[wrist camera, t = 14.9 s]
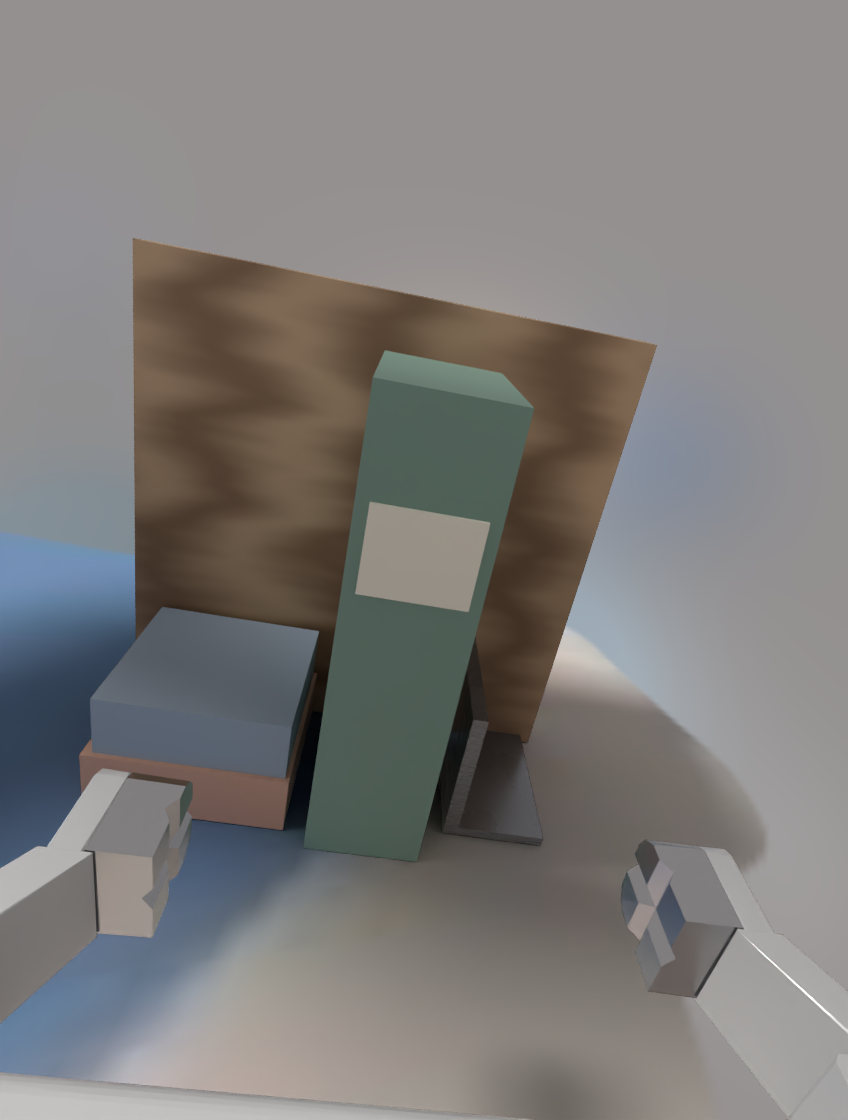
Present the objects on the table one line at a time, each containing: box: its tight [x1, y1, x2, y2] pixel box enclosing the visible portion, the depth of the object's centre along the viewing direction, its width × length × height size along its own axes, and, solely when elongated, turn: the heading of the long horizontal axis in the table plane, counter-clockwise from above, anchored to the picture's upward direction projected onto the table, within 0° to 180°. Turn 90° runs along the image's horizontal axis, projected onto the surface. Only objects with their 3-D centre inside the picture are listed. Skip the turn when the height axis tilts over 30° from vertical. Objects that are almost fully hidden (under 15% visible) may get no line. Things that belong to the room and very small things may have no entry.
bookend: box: [440, 637, 543, 846], centre depth 28 cm, size 4×6×6 cm, turn 1°
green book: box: [303, 350, 534, 862], centre depth 23 cm, size 4×7×18 cm, turn 1°
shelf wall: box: [133, 238, 657, 742], centre depth 28 cm, size 20×2×20 cm, turn 91°
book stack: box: [79, 607, 319, 830], centre depth 26 cm, size 8×7×5 cm
